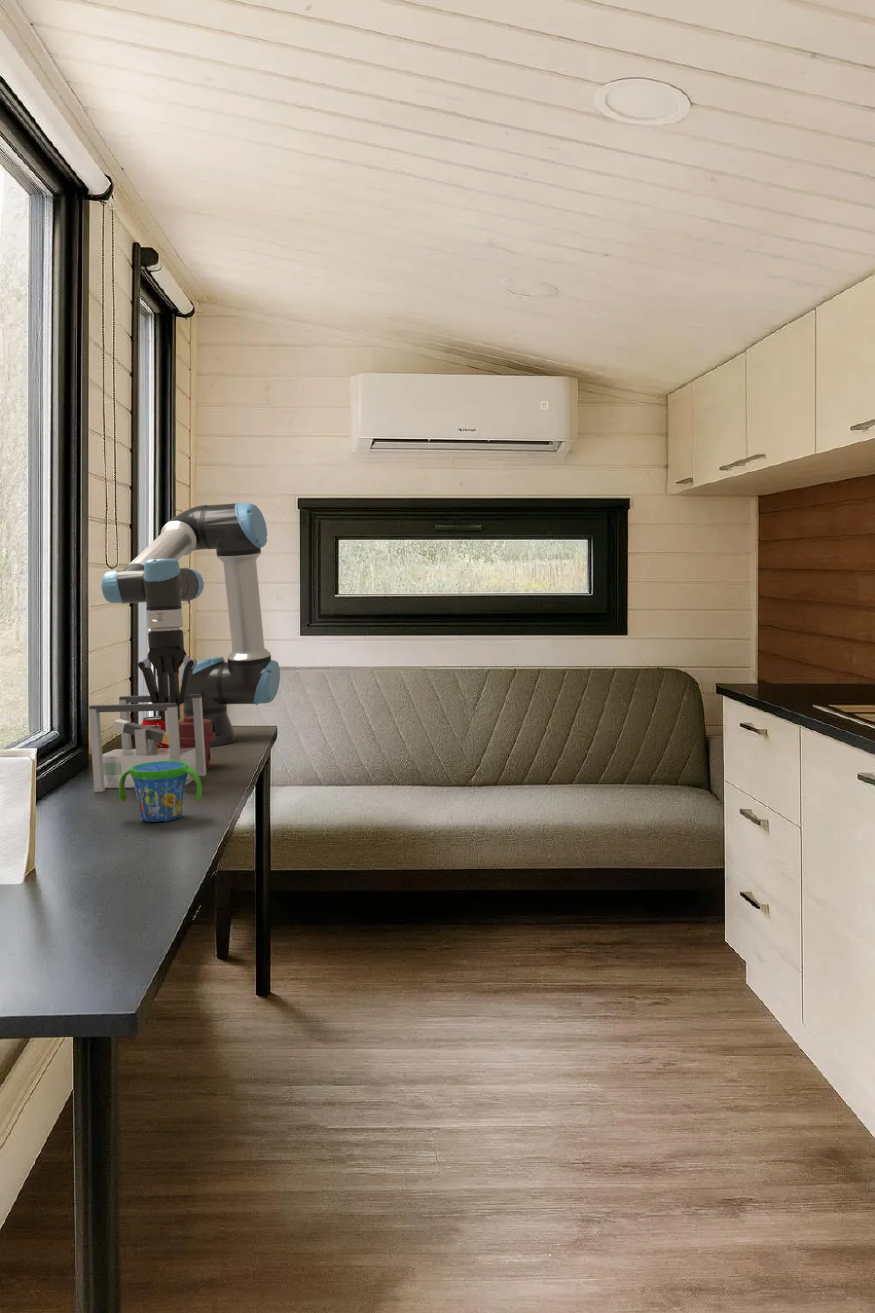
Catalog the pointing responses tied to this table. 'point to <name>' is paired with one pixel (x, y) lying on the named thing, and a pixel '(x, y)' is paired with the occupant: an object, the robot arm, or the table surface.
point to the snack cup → (160, 788)
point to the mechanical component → (189, 736)
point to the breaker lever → (131, 727)
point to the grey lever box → (140, 759)
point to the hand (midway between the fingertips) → (171, 735)
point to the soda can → (159, 725)
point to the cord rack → (126, 738)
